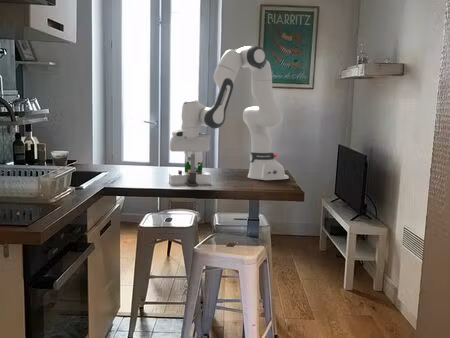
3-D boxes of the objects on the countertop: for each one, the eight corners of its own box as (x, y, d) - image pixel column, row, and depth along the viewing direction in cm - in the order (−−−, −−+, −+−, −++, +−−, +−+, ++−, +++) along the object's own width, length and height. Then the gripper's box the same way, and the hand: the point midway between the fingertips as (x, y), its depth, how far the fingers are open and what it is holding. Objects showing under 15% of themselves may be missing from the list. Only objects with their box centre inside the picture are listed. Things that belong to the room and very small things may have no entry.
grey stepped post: (196, 184, 249) (197, 153, 246) (198, 186, 244) (199, 155, 241) (186, 185, 247) (186, 153, 245) (188, 186, 242) (188, 155, 240)
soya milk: (187, 178, 268) (187, 141, 266) (203, 178, 267) (204, 141, 264) (182, 180, 260) (183, 142, 257) (199, 181, 258) (200, 143, 255)
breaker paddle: (190, 172, 253) (190, 169, 253) (191, 173, 250) (191, 170, 250) (188, 172, 253) (188, 169, 252) (189, 173, 250) (189, 170, 250)
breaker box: (207, 181, 259) (207, 168, 258) (210, 184, 251) (211, 171, 250) (168, 182, 253) (169, 169, 252) (171, 185, 246) (171, 172, 245)
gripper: (209, 132, 254) (208, 159, 256) (169, 132, 249) (168, 159, 251) (211, 133, 248) (211, 161, 250) (171, 133, 243) (170, 161, 245)
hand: (189, 160), depth 250 cm, fingers closed
